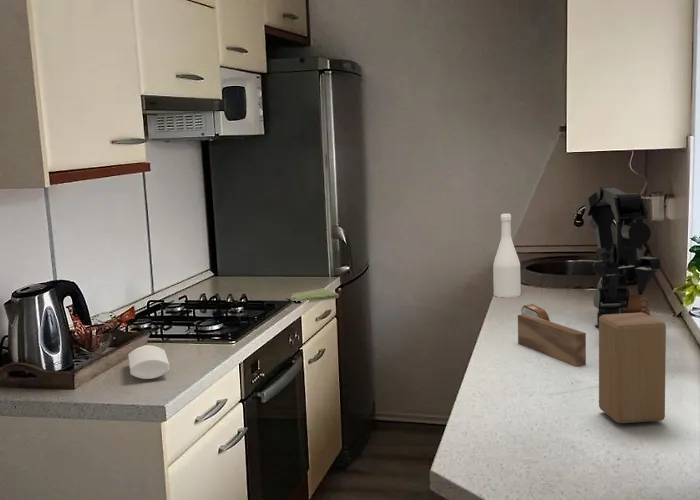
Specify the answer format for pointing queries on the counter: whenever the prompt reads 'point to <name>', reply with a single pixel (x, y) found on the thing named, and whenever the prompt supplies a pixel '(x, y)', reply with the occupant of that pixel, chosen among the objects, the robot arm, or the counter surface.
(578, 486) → the counter surface
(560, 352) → the walnut board
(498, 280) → the wine bottle
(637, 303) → the cup and saucer
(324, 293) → the washcloth
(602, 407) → the wooden block
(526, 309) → the tin
